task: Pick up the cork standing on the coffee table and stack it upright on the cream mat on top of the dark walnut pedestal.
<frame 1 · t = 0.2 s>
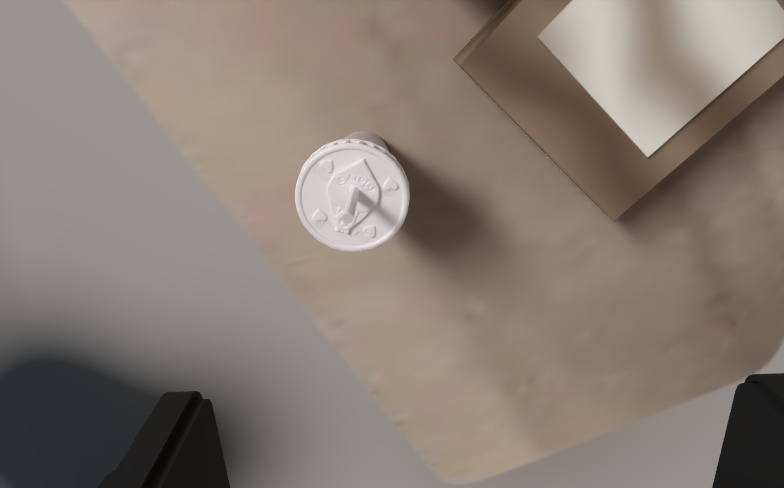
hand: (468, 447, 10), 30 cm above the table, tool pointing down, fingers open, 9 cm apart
pedestal: (628, 29, 35), on the table
smoothie: (363, 156, 39), on the table
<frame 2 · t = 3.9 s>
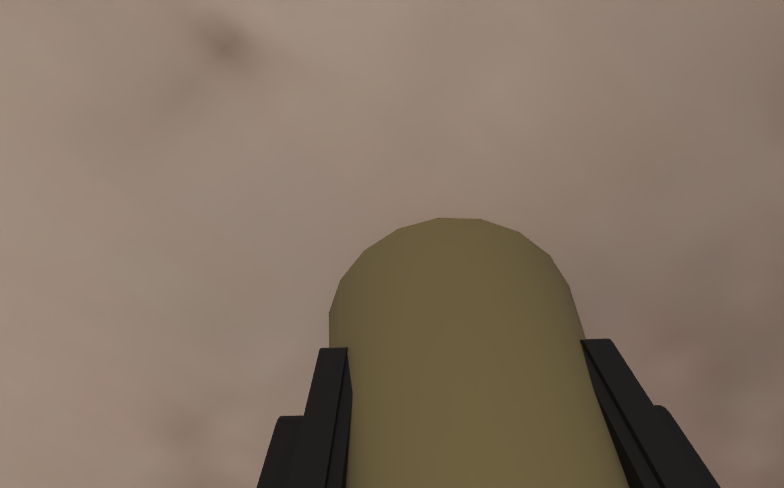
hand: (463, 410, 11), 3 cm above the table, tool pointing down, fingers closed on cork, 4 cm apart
cork: (450, 328, 14), on the table, touching gripper
when the fingers open (10 cm above the table, at t = 9.4 s): cork drops 1 cm, resting on pedestal.
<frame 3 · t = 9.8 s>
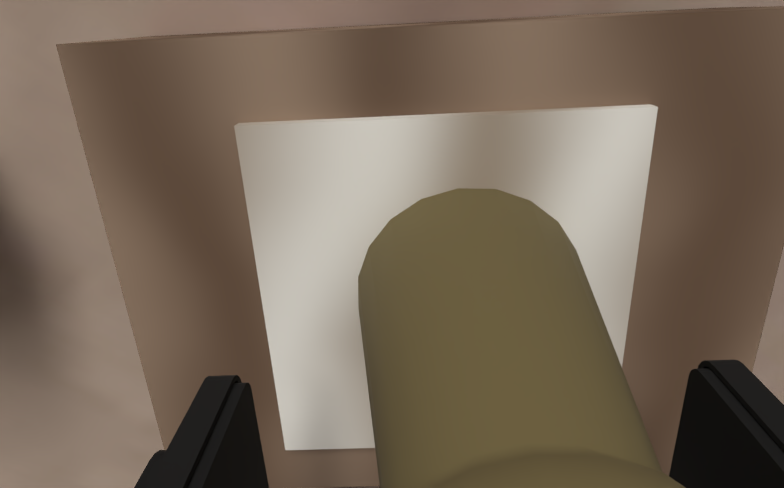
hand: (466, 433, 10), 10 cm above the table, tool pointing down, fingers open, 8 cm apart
cork: (467, 291, 15), point 5 cm above the table, touching pedestal
pedestal: (434, 230, 20), on the table
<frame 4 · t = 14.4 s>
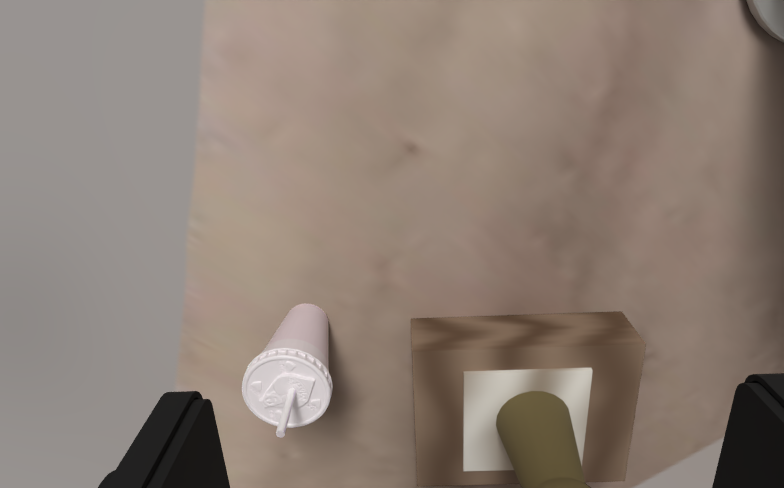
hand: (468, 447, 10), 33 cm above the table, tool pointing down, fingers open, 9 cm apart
cork: (532, 419, 45), point 5 cm above the table, touching pedestal
pedestal: (512, 382, 50), on the table
smoothie: (307, 321, 48), on the table
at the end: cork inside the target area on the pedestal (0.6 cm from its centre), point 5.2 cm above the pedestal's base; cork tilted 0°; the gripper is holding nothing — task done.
